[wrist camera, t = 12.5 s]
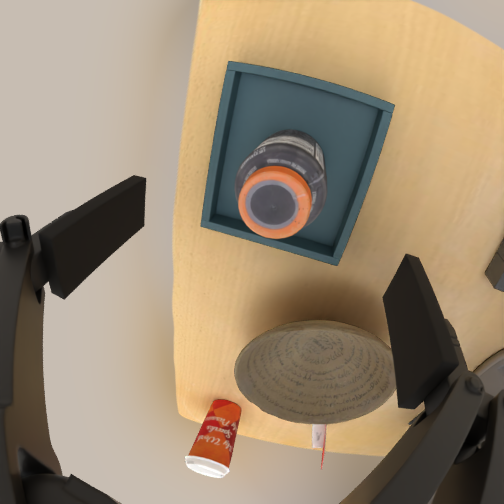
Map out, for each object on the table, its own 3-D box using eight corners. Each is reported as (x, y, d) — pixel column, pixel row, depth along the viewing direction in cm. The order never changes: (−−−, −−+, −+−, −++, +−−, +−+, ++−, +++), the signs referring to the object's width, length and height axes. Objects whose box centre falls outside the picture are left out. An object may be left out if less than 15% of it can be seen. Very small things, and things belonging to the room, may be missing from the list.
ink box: (314, 425, 48) (307, 470, 40) (314, 395, 43) (308, 448, 35) (326, 425, 48) (321, 470, 39) (329, 395, 42) (325, 448, 34)
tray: (336, 253, 30) (337, 266, 27) (208, 216, 31) (200, 226, 28) (388, 103, 21) (395, 105, 19) (236, 63, 22) (228, 60, 20)
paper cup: (251, 404, 48) (231, 473, 36) (242, 420, 52) (223, 481, 40) (208, 391, 48) (183, 458, 36) (204, 408, 52) (181, 467, 41)
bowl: (392, 267, 29) (407, 319, 22) (391, 372, 37) (395, 418, 30) (230, 289, 35) (208, 338, 28) (270, 382, 43) (259, 425, 36)
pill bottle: (295, 205, 27) (278, 273, 18) (245, 164, 26) (199, 211, 17) (339, 159, 24) (350, 206, 15) (287, 114, 23) (263, 130, 14)
